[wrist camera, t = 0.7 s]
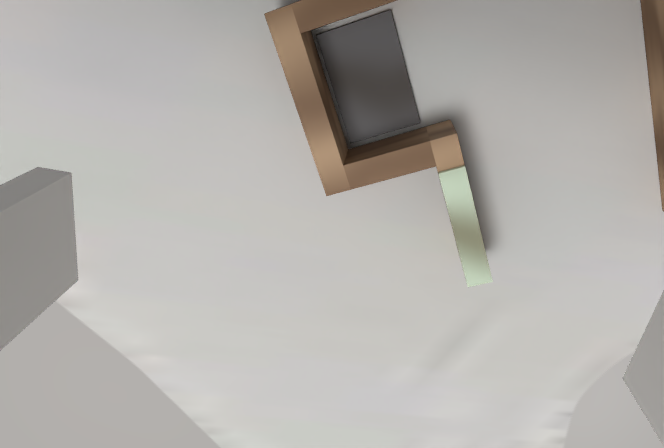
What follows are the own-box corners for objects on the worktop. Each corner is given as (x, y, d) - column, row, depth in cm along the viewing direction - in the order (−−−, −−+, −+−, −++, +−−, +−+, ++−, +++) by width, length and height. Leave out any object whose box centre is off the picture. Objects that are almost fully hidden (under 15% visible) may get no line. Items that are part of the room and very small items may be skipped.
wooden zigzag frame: (265, -28, 32) (247, -33, 28) (655, -176, 27) (700, -206, 23) (367, 279, 40) (364, 310, 36) (688, 204, 35) (726, 230, 31)
